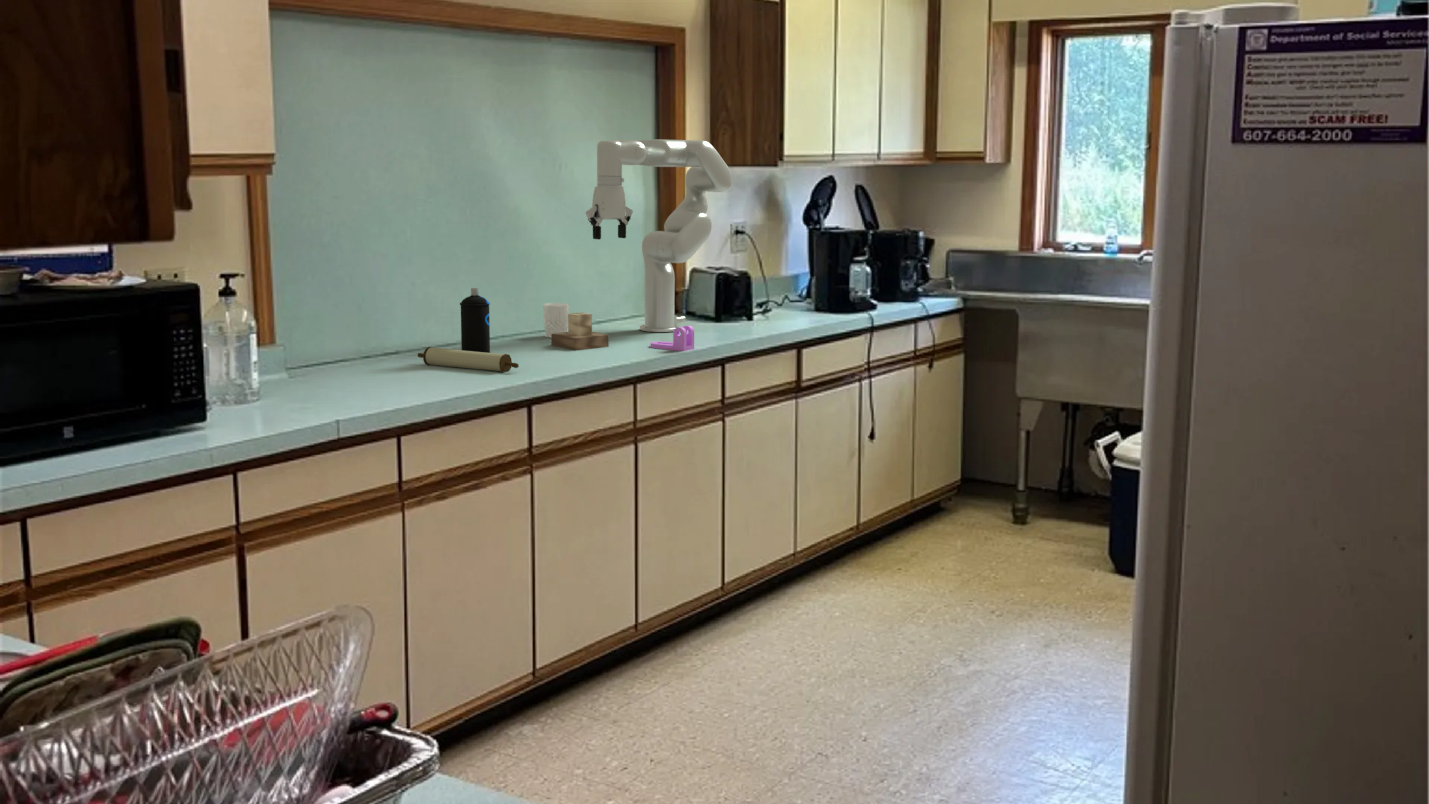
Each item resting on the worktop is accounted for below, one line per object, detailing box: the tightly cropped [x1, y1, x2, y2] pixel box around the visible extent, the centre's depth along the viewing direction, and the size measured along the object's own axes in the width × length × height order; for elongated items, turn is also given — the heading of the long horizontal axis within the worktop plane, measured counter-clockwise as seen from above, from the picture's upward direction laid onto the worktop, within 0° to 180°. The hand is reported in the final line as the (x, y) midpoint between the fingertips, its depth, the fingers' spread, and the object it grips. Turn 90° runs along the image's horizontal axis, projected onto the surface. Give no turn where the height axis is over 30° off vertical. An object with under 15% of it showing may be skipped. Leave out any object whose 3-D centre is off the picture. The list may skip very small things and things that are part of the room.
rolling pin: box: [417, 346, 519, 373], centre depth 364 cm, size 32×6×5 cm, turn 65°
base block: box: [550, 331, 610, 351], centre depth 406 cm, size 12×12×4 cm
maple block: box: [567, 312, 593, 336], centre depth 405 cm, size 5×5×6 cm
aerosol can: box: [459, 287, 491, 353], centre depth 375 cm, size 8×8×20 cm
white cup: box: [542, 302, 570, 339], centre depth 423 cm, size 8×8×10 cm
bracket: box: [650, 325, 695, 352], centre depth 404 cm, size 13×6×7 cm, turn 59°
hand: (609, 238), depth 420 cm, fingers open, 9 cm apart
